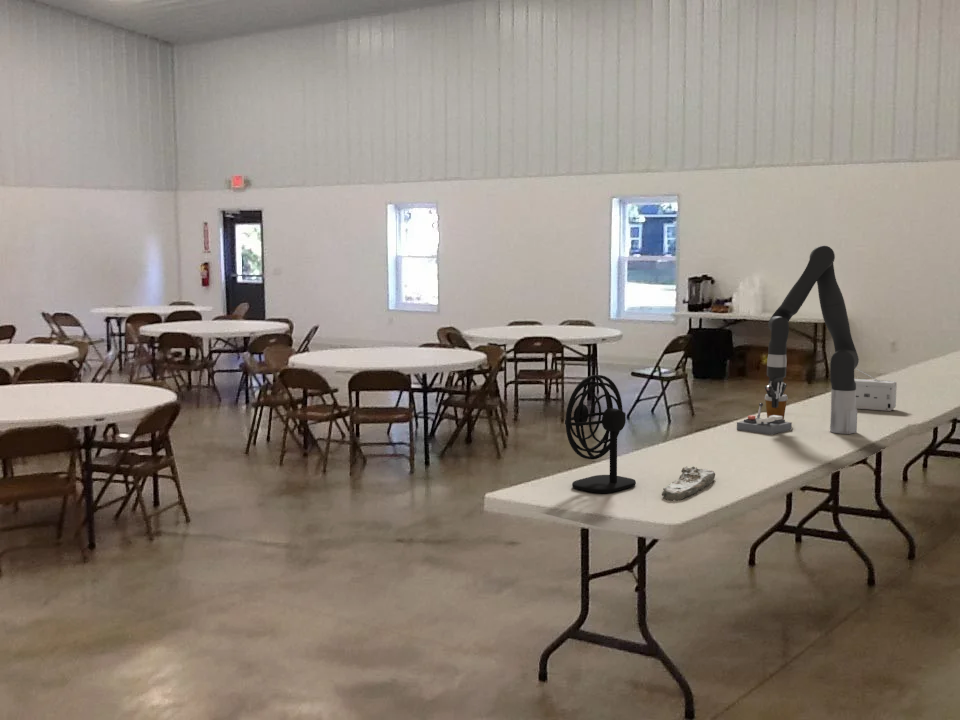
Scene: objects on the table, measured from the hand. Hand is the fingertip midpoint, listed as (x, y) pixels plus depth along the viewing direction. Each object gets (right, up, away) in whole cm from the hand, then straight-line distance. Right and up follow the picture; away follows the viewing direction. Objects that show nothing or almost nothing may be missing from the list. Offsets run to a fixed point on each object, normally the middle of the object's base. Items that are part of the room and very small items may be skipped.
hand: (774, 407), depth 415 cm
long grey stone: (-55, -21, -97) cm, 114 cm away
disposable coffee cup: (+5, -8, +15) cm, 18 cm away
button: (-9, -5, +1) cm, 10 cm away
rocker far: (-5, -5, -5) cm, 9 cm away
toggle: (-5, -5, +8) cm, 10 cm away
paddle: (0, -5, 0) cm, 5 cm away
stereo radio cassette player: (+58, -3, +49) cm, 76 cm away
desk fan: (-81, -21, -94) cm, 126 cm away
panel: (-4, -9, 0) cm, 10 cm away
